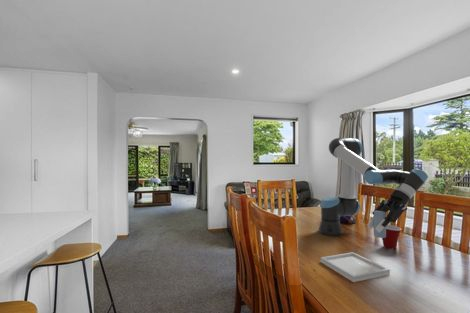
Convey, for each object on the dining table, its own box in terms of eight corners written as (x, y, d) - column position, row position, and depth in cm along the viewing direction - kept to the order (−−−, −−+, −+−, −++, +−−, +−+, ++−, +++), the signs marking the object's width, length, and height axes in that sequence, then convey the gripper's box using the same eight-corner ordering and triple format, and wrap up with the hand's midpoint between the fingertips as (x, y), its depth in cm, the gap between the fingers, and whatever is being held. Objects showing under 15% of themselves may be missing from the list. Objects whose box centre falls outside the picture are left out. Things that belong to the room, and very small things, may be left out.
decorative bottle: (357, 226, 173) (357, 193, 173) (327, 223, 183) (327, 191, 184) (358, 220, 193) (358, 189, 193) (331, 217, 203) (330, 188, 203)
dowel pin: (371, 235, 117) (371, 211, 117) (379, 234, 119) (379, 210, 119) (380, 238, 112) (380, 213, 112) (388, 237, 114) (388, 212, 114)
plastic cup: (405, 251, 126) (405, 229, 126) (383, 250, 128) (383, 228, 128) (396, 244, 137) (396, 224, 137) (376, 243, 139) (375, 223, 139)
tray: (320, 261, 114) (320, 257, 114) (352, 256, 120) (352, 252, 120) (353, 282, 95) (353, 276, 95) (389, 274, 101) (389, 269, 101)
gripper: (424, 203, 109) (392, 240, 106) (392, 196, 127) (365, 228, 124) (414, 192, 108) (382, 229, 106) (383, 187, 126) (356, 218, 123)
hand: (373, 228), depth 115 cm, fingers closed on dowel pin, 5 cm apart
